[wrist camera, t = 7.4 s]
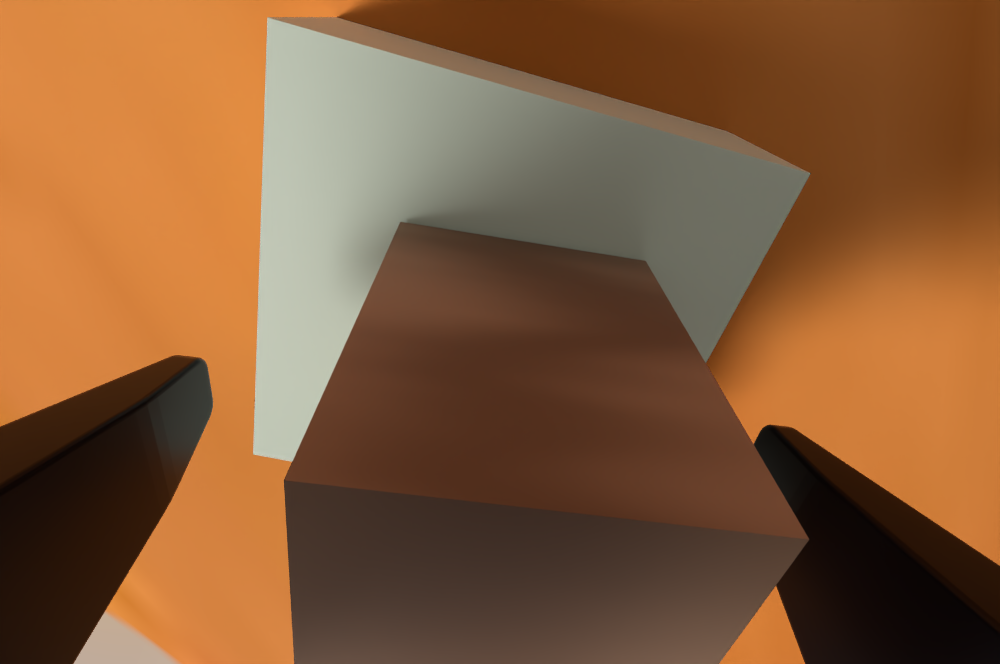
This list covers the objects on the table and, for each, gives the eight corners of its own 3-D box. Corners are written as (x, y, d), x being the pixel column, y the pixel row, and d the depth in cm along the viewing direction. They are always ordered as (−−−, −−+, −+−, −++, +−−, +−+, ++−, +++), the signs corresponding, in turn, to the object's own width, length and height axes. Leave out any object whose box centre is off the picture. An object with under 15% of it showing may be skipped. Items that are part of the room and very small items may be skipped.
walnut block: (645, 260, 10) (809, 539, 5) (584, 441, 12) (649, 759, 7) (400, 221, 9) (283, 479, 4) (385, 415, 12) (298, 735, 7)
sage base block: (725, 130, 12) (810, 173, 9) (594, 418, 17) (618, 521, 13) (338, 17, 11) (267, 17, 8) (307, 358, 16) (253, 454, 12)
